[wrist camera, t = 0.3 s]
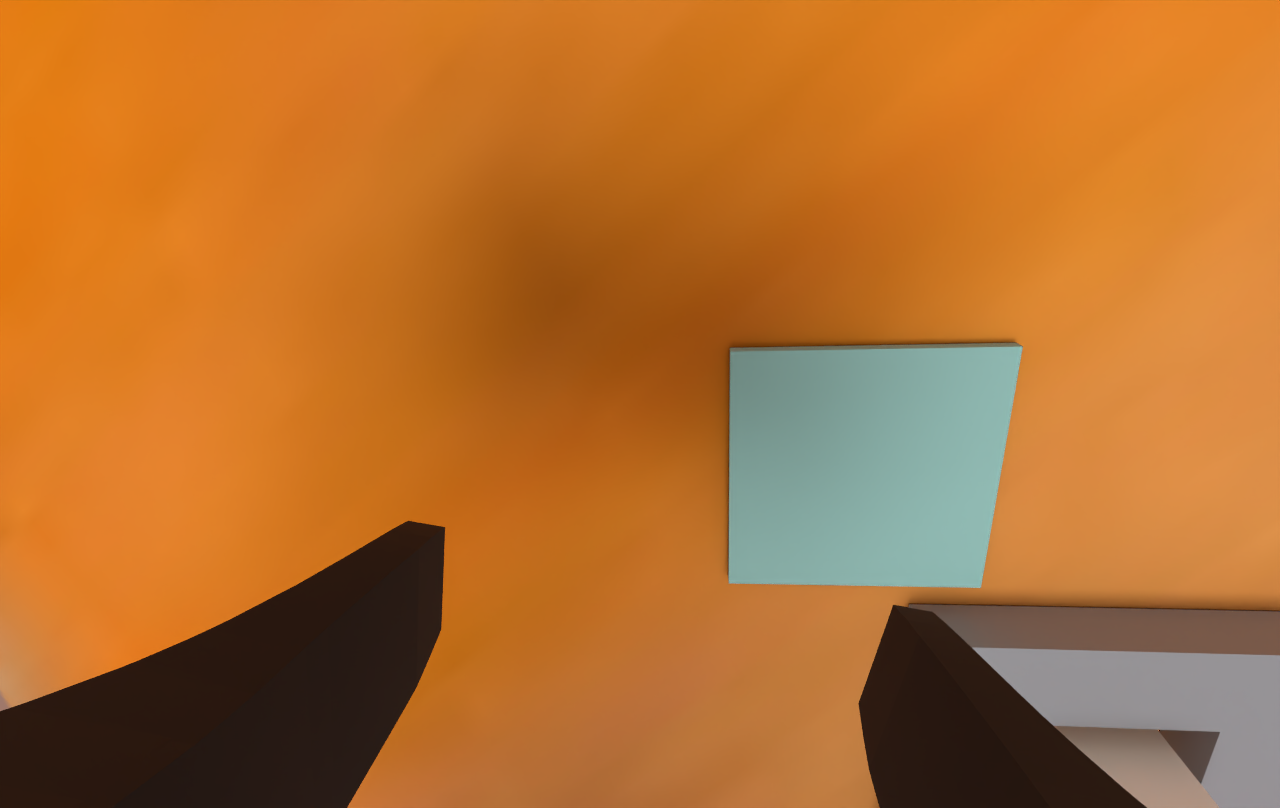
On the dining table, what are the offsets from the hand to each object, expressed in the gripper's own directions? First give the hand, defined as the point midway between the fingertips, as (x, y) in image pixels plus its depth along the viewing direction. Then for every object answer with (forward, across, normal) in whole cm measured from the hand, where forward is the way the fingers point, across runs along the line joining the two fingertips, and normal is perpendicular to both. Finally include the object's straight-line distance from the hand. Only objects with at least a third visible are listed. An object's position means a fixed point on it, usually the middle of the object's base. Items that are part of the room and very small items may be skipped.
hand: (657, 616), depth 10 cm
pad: (+10, -6, +1) cm, 12 cm away
